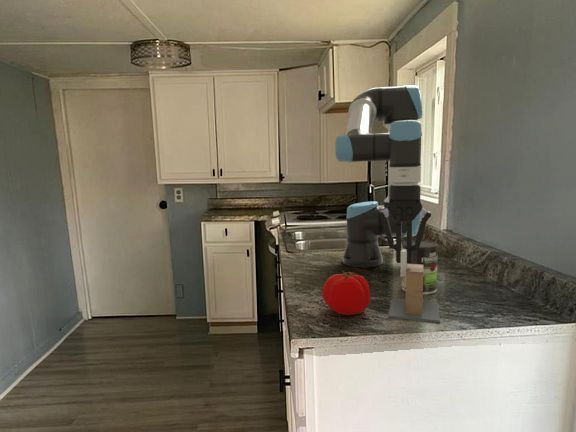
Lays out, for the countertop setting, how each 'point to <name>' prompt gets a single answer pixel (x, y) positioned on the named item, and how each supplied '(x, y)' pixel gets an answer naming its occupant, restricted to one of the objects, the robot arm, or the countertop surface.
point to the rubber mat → (428, 314)
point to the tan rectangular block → (414, 289)
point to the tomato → (346, 293)
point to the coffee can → (425, 264)
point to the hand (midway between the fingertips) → (403, 275)
